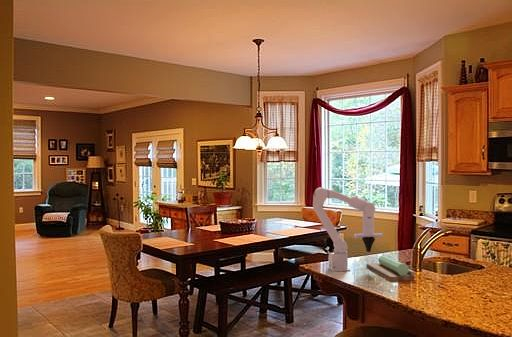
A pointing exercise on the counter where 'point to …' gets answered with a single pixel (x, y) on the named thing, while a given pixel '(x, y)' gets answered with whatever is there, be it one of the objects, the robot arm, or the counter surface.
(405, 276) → the shelf
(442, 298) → the counter surface
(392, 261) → the container
